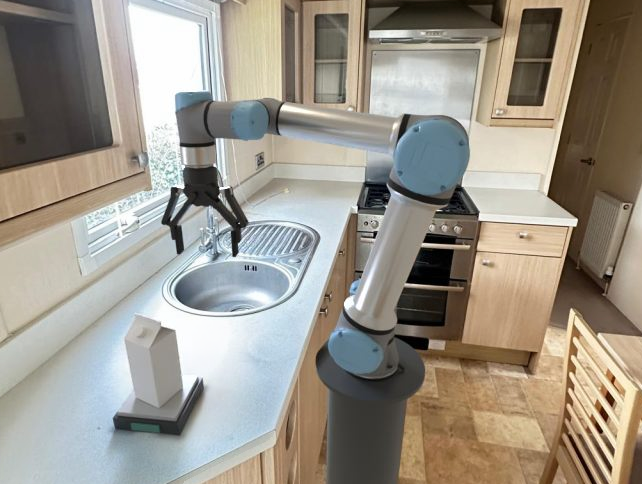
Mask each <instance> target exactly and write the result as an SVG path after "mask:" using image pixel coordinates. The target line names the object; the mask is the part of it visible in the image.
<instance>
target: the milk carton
mask: <svg viewBox="0 0 642 484" xmlns="http://www.w3.org/2000/svg"><path fill="white" fill-rule="evenodd" d="M134 316H135V318H134V319H133V320H132V323H131V325H130V327H129V328H128V330H127V331H126V334H125V336H124V338H123V339H124V345H125V346H124V347H125V351H126V356H127V360H128V367H129V371H130V375H131V376H130V377H131V383H132V387H133V389H134V393H135V397H136V398H138V399H140V400H142V401H144V402H146V403H149V404H151V405H153V406H155V407H157V408H160V407H161V406H162V405H163V404H165V403H166V402H167V401H168V400H169V399H170V398H171V397H173V396H174V395H175V394H176V393H177V392H178V391H179V390H181V389H182V388H183V382H182V375H183V374H182V369H181V360H180V353H179V345H178V338H177V331H176V329H174V328H171V327H168V326H165V325H162V321H161V320H158V319H155V318H153V317H149V316H146V315H143V314H141V313H138V312H134Z"/></svg>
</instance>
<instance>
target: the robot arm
mask: <svg viewBox="0 0 642 484" xmlns="http://www.w3.org/2000/svg"><path fill="white" fill-rule="evenodd" d="M174 105H175V111H174V114H175V118H176V125H177V132H178V133H177V134H178V140H179V152H180V153H179V155H180V163H181V165H183V166H182V168H181V170H182V180H183V186H181V185H180V184H177V183H176V184H174V185H173V186H171V187H170V197H169V199H168V202H167V205H166V207H165V210H164V213H163V215H162V218H161V221H160V223H161V225H163V226H167V227H169V230H170V238H171V240H172V241H174V242H175V249H176V250H175V251H176V255H181V254H182V253H184V251H185V245H184V244H185V243H184V235H183V227H182V224H180V221H182V219H183V218H184V216H185V215H186V214H187V212H188V211H189V210H190V209H191V207H192V206H194V207H199V208H200V207H204V208H209V207H212V209H214V210H216V212H218V214H219V215H220V216H221V217H222V218H223V219H224V221H225V222H227V224H228V225H229V226H230V227H231V230H230V242H231V244H230V245H231V255H232V256H231V257H232V258H236V257H237V256H238V254H240V253H239V252H240V251H239V244H240V243H241V242H242V239H243V237H242V236H243V235H242V229H246V228H247V226H249V224H250V222H249V220H248V218H247V215H246V214H245V213H244V211H243V209H242V207H241V205H240V204H239V202H238V200H237V198H236V196H235V193H234V188H233V186H232V185H228V186H226V187H220V184H219V176H218V173H219V172H218V166H217V165H216V163H217V149H216V139H227V140H240V141H245V142H248V141H260V140H261V139H263V138H264V137H265V135H273V136H281V137H287V138H292V139H293V138H294V139H299V140H304V141H309V142H314V143H315V142H316V143H321V144H327V145H333V146H339V147H345V148H350V149H357V150H362V151H369V152H373V153H380V154H385V155H389V156H390V157H391V158H392V160H393V165H392V167H391V170H390V173H389V176H388V179H387V182H386V187H387V189H388V191H389V193H390V197H389V200H388V203H387V206H386V208H385V211H384V214H383V217H382V219H381V222H380V225H379V228H378V231H377V234H376V236H375V238H374V241H373V244H372V247H371V250H370V252H369V255H368V258H367V261H366V264H365V266H364V269H363V272H362V274H361V277H360V279H358V280H357V279H356V280H354V281H353V282H352V283H351V285H350V288H349V296H348V297H347V298H345V301H344V303H343V307H342V309H341V312H340V315H339V317H338V320H337V323H336V324H335V327H334V329H333V331H332V332H331V333H330V336H329V339H330V340H329V339H328V340H329V343H328V349H329V353H330V355H331V357H333V359H334V361H335V362H336V363H337V364H338V365H339V366H340V367H342V368H343V369H344V370H345V371H346V372H347V373H349V374H350V375H352V376H353V377H356V378H358V379H361V380H366V381H382V380H386V379H388V378H390V377H392V376H394V375H395V374H396V372H397V371H398V368H400V369H401V370H403V371H404V370H405V368H404V367H403V366H402V365H401V364H400V363H399V355H398V352H397V348H396V345H395V341H394V337H395V335H396V333H395V332H396V326H397V323H398V317H397V312H398V311H397V310H398V302H399V300H400V297H401V294H402V293H403V290H404V287H405V285H406V284H407V281H408V278H409V276H410V273H411V271H412V269H413V266H414V264H415V262H416V259H417V257H418V254H419V252H420V250H421V248H422V245H423V243H424V240H425V238H426V236H427V233H428V231H429V228H430V226H431V224H432V222H433V219H434V217H435V214H436V212H437V211H438V210H440V209H443V208H445V207H448V205H449V203H450V201H451V199H452V197H453V195H454V192H455V189H456V188H457V185H458V183H459V182H460V181H461V179H462V177H463V176H464V175H465V173H466V171H467V169H468V166H469V163H470V158H471V148H470V140H469V135H468V133H467V130H466V128H465V127H464V126H463V125H462V123H461V122H459V121H458V120H457V119H455V118H453V117H452V116H448V115H445V114H427V115H426V114H412V113H405V112H404V113H402V114H400V115H399V116H398V117H396V116H388V115H381V114H374V113H367V112H360V111H354V110H346V109H339V108H333V107H325V106H318V105H312V104H311V105H310V104H304V103H296V102H289V101H283V100H279V99H276V98H272V97H263V98H257V99H244V100H213V98H212V93H211V91H209V90H199V89H198V90H197V89H196V90H195V89H194V90H178V91H177V92H175V94H174ZM182 194H184V195H185V197H186V198H187V199H186V200H185V201H184V203H183V205H182V206H181V208H180V209H179V210H178V212H177V213H176V214H175V215H174V217H173V214H174V212H175V210H176V207H177V204H178V201H179V199H180V197H181V195H182ZM220 194H221V195H222V196H223V197H224V198H225V200H226V202H227V204H228V206H229V207H230V209H231V210H229V209H228V207H227V206H226V205H225V204H224V202H223V201H222V199H221V198H220V197H219V196H220ZM231 211H232V212H231ZM172 217H173V218H172Z"/></svg>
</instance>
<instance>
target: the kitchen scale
mask: <svg viewBox="0 0 642 484" xmlns="http://www.w3.org/2000/svg"><path fill="white" fill-rule="evenodd" d="M181 375H182V382H183V388H182V389H181V390H179V391H178V392H177V393H176V394H175V395H174V396H173V397H171V398H170V399H169V400H168V401H167V402H166V403H165V404H163V405H162V406H161V407H160V408H157V407H155V406H153V405H151V404H149V403H146V402H144V401H142V400H140V399H138V398H136V397H135V393H134V388H133V389H132V391H131V392H130V394H129V395H128V396H127V398H126V399H125V400H124V402H123V403H122V405H121V406H120V407H119V408H118V410H117V411H116V413H115V414H114V415H113V417H112V421H113V426H114V430H120V431H128V432H129V431H130V432H139V433H140V432H141V433H149V434H158V435H169V436H178V437H179V436H181V434H182V432H183V430H184V428H185V426H186V424H187V422H188V421H189V418H190V416H191V414H192V412H193V410H194V408H195V406H196V404H197V403H198V400H199V398H200V396H201V395H202V393H203V390H204V387H205V386H204V378H203V377H199V375H189V374H181Z"/></svg>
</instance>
